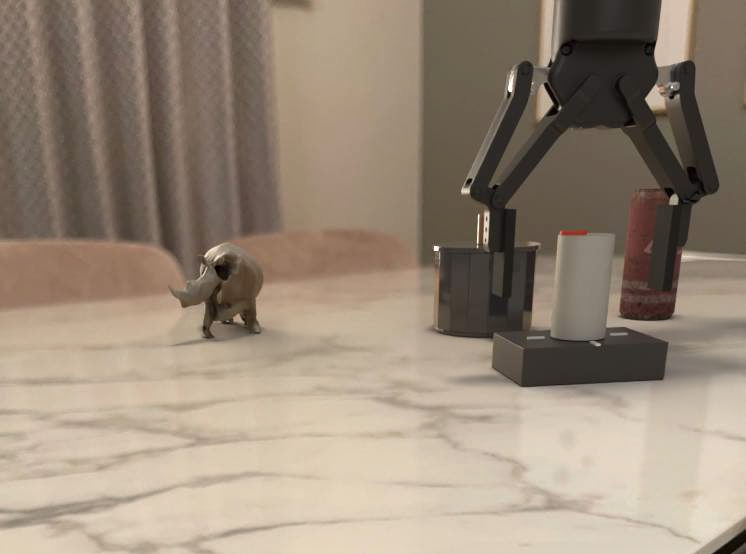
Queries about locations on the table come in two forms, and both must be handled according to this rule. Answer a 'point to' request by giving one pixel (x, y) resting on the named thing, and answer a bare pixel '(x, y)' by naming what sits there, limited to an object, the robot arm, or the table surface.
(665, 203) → the can
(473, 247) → the pot lid
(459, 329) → the pot
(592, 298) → the knob
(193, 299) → the rhinoceros figurine
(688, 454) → the table surface
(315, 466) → the table surface
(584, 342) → the block
